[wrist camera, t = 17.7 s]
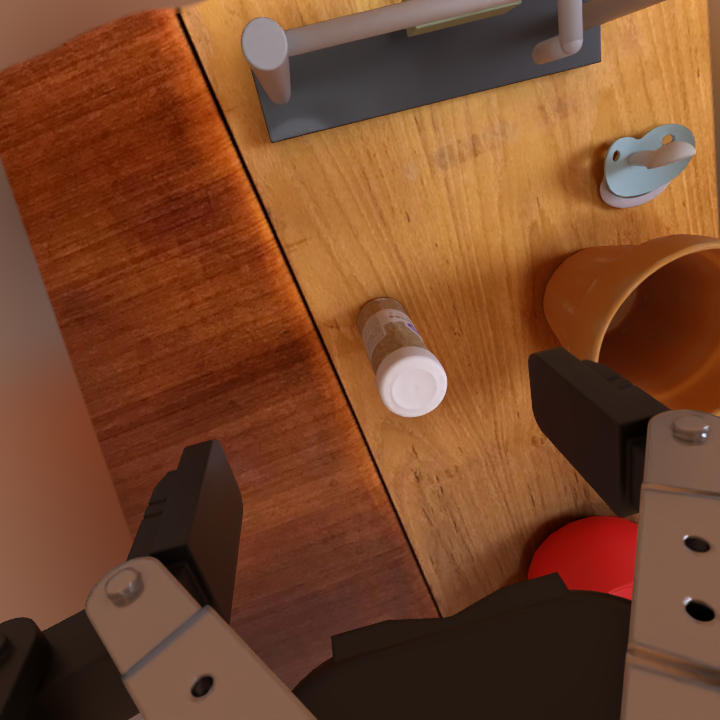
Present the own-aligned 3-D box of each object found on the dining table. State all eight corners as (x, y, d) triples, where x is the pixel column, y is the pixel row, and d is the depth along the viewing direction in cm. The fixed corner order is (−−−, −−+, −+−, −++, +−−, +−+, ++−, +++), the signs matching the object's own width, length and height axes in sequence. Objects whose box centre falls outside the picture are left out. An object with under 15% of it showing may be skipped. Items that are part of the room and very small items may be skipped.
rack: (271, 142, 37) (249, 147, 18) (247, 51, 35) (190, -54, 16) (590, 64, 38) (891, -11, 19) (588, -31, 35) (935, -231, 16)
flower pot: (649, 185, 42) (787, 203, 30) (672, 325, 48) (795, 386, 36) (495, 256, 43) (572, 301, 31) (537, 385, 49) (614, 464, 37)
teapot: (658, 465, 55) (749, 546, 44) (681, 553, 62) (766, 644, 51) (455, 557, 57) (493, 658, 46) (498, 634, 64) (541, 737, 53)
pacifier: (673, 192, 43) (674, 117, 40) (730, 203, 37) (737, 117, 34) (592, 217, 43) (588, 144, 40) (637, 232, 37) (636, 148, 35)
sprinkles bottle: (416, 310, 44) (462, 375, 32) (389, 351, 46) (424, 429, 33) (372, 286, 43) (404, 345, 31) (346, 330, 44) (366, 403, 32)
